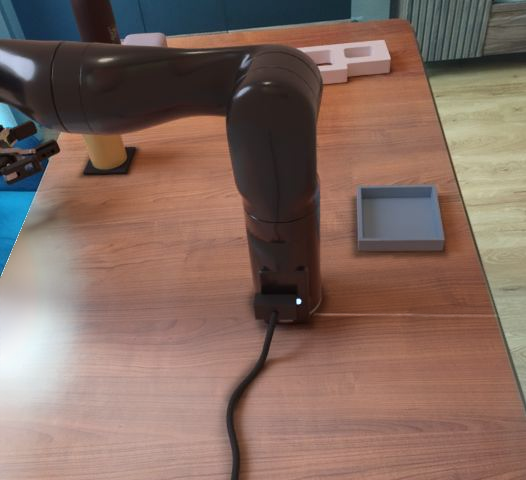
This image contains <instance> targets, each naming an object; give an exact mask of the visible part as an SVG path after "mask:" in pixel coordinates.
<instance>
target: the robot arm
mask: <svg viewBox="0 0 526 480" xmlns="http://www.w3.org/2000/svg"><path fill="white" fill-rule="evenodd" d="M297 48H298V47H294V46H291V45H287V44H283V43H282V44H281V43H260V44H258V43H257V44H246V45H230V46H218V47H217V46H215V47H195V48H194V47H188V48H187V47H172V46H171V47H169V46H168V47H159V46H140V45H123V44H122V45H118V44H107V43H97V42H82V41H75V40H72V41H71V40H35V39H20V38H19V39H17V38H0V104H4V105H7V106H10V107H12V108H14V109H15V110H17V111H18V112H20V113H21V114H23V115H24V116H26V118H29V120H27V121H24V122H23V123H20V124H17V125H16V126H13V127H10V126H6V127H4V125H3V124H0V177H3V179H4V181H5V183H6V185H8V186H12V185H14V184H16V183H19V182H20V181H23V180H25V179H27V178H30V177H32V176H34V175H37V174H38V173H41V172H42V171H43V168H42V162H43V161H45V160H47V159H49V158H51V157H54V156H55V155H58V154H59V153H60V152H61V149H60V146H59V143H58V141H57V140H55V139H53V138H52V139H50V140H48V141H45V142H43V143H41V144H39V145H37V146H34V147H33V148H27V149H22V148H21V147H14V145H15V144H16V143H17V142H21V141H24V140H25V139H29V138H30V137H32V136H34V135H36V134H37V133H38V128H37V126H36V123H37V124H38V125H40V126H42V127H44V128H45V129H49V130H52V131H55V132H58V133H64V134H73V135H74V134H75V135H82V134H87V135H100V136H112V135H121V136H122V135H128V134H133V133H137V132H141V131H144V130H147V129H151V128H154V127H158V126H162V125H164V124H168V123H170V122H174V121H179V120H182V119H188V118H194V117H195V118H196V117H216V118H217V117H218V118H219V117H220V118H225V131H226V140H227V145H228V146H227V147H228V152H229V157H230V165H231V169H232V175H233V180H234V184H235V188H236V190H237V192H238V194H239V195H240V196H241V201H242V210H243V217H244V225H245V232H246V240H247V247H248V248H247V249H248V255H249V262H250V263H249V264H250V270H251V276H252V284H253V290H254V292H253V293H254V298H253V304H252V305H253V311H254V319H255V320H256V321H258V320H260V321H261V320H263V322H264V324H268V327H267V330H266V334H265V337H264V342H263V345H262V350H261V353H260V356H259V358H258V360H257V362H256V364H255V365H254V367H253V368H252V370H251V371H250V372H249V373H248V375H247V376H246V377H245V378H244V379H243V380H242V381H241V382H240V383H239V384H238V385H237V387H236V388H235V389H234V391H233V392H232V394H231V396H230V397H229V401H228V404H227V409H226V415H225V422H226V423H225V424H226V431H227V434H228V435H227V436H228V439H229V444H230V447H231V454H232V455H231V456H232V465H231V475H230V480H239V475H240V468H241V467H240V466H241V455H240V454H241V453H240V447H239V442H238V438H237V435H236V431H235V424H234V411H235V407H236V403H237V401H238V399H239V397H240V396H241V394H242V393H243V391H244V390H245V389H246V388H247V387H248V386H249V385H250V383H252V381H253V380H254V379H255V378H256V376H257V375H258V374H259V373H260V371H261V370H262V368H263V367H264V366H265V365H264V364H265V362H266V360H267V358H268V355H269V352H270V347H271V345H272V341H273V337H274V334H275V329H276V325H277V324H309V323H310V319H311V317H312V316H313V315H314V314H315V312H316V311H317V310H318V309H319V307H320V305H321V303H322V299H323V291H322V257H321V255H322V254H321V253H322V250H321V247H322V246H321V244H322V242H321V241H322V240H321V239H322V238H321V217H322V215H321V178H320V174H319V173H318V144H317V143H318V141H317V139H318V138H317V137H318V136H317V135H318V120H319V115H320V111H321V105H322V99H323V93H324V84H323V79H322V75H321V72H320V70H319V68H318V66H319V65H318V64H316V63H315V62H314V61H313V60H312V59H311V58H310V57H309V56H308V55H307V54H305V53H304V52H303V51H301V50H299V49H297ZM27 168H28V169H27Z"/></svg>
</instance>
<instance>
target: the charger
mask: <svg viewBox="0 0 526 480" xmlns="http://www.w3.org/2000/svg"><path fill="white" fill-rule="evenodd" d="M167 41H168V40H167V36H166V34H164V33H162V32H145V33H144V32H143V33H132V34H128V35H126V36H125V38H124V40H123V42H122V45H140V46H159V47H169V46H168V42H167Z"/></svg>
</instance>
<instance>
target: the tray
mask: <svg viewBox="0 0 526 480" xmlns="http://www.w3.org/2000/svg"><path fill="white" fill-rule="evenodd" d="M356 217H357V218H356V219H357V220H356V221H357V222H356V223H357V251H358V252H431V251H432V252H443V250H444V246H445V243H446V237H445V233H444V227H443V226H444V225H443V220H442V213H441V209H440V202H439V197H438V191H437V184H436V183H434V184H392V185H391V184H387V185H385V184H384V185H383V184H381V185H357V186H356Z"/></svg>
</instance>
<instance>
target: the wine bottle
mask: <svg viewBox="0 0 526 480" xmlns="http://www.w3.org/2000/svg"><path fill="white" fill-rule="evenodd" d="M69 4H70V7H71V11H72V15H73V17H74V21H75V25H76V27H77V30H78V33H79V37H80V40H81V42H97V43H107V44H118V45H123V43H122V40H121V37H120V33H119V30H118V26H117V21H116V18H115V13H114V10H113V6H112V3H111V0H69Z"/></svg>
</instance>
